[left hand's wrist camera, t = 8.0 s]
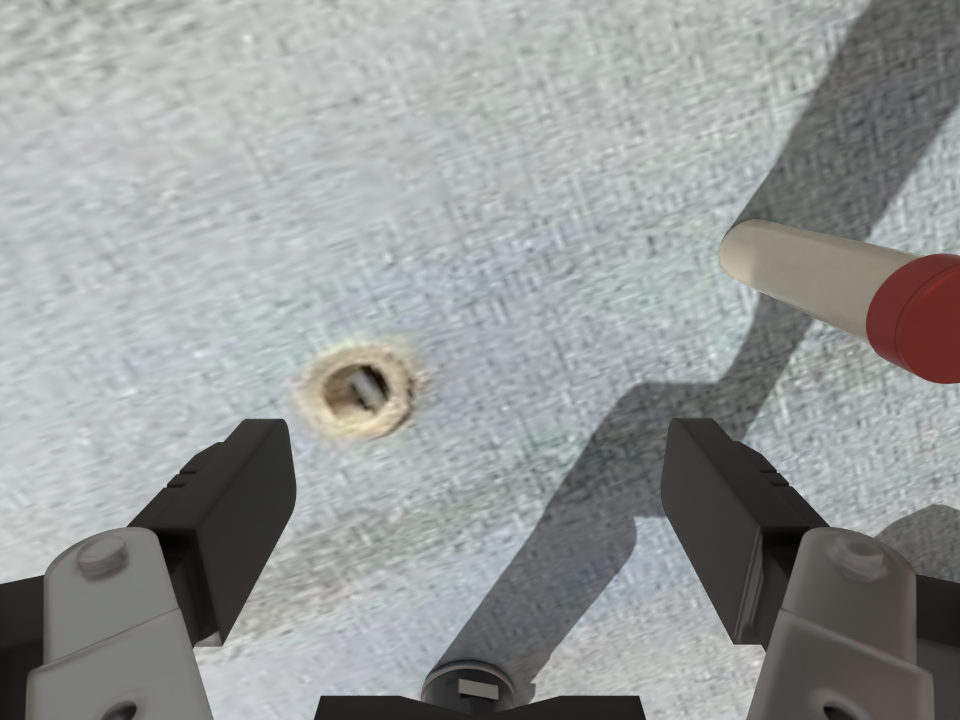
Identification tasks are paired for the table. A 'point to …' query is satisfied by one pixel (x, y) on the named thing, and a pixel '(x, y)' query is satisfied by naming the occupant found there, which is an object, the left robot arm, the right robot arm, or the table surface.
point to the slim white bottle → (811, 270)
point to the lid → (920, 318)
